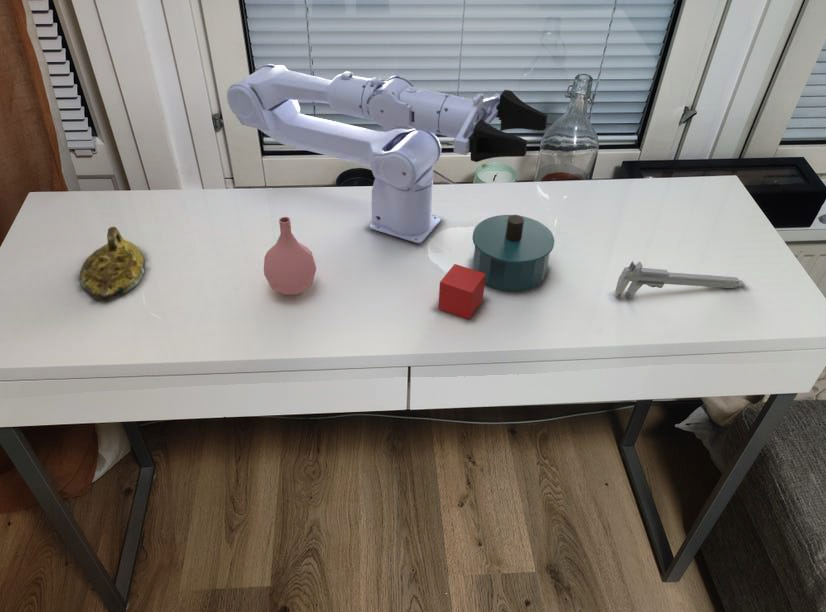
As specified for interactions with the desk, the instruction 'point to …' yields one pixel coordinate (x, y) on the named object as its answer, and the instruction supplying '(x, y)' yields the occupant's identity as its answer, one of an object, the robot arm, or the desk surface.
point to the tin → (510, 273)
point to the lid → (513, 239)
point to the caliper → (668, 279)
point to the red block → (461, 291)
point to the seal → (112, 268)
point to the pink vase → (289, 263)
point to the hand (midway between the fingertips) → (536, 135)
